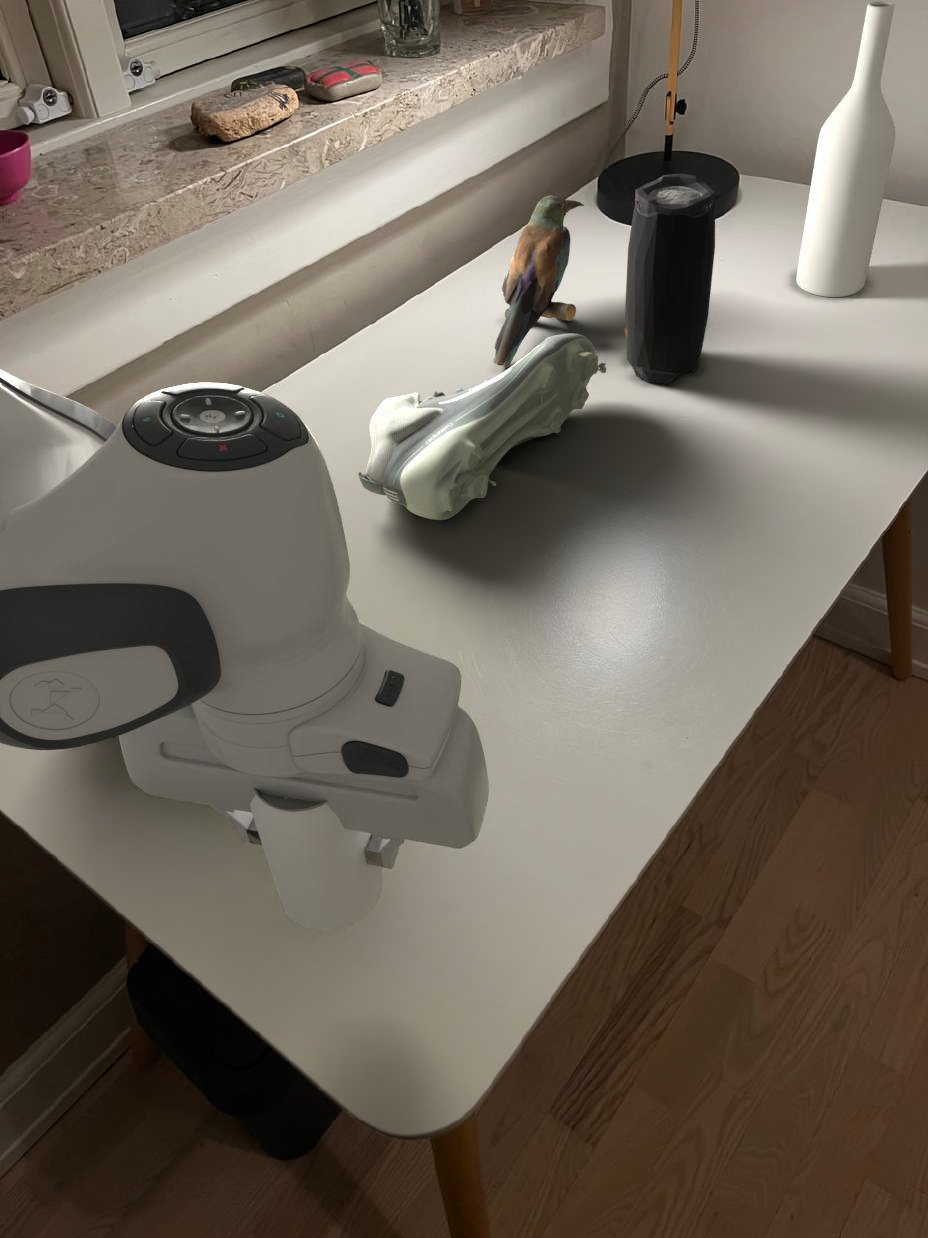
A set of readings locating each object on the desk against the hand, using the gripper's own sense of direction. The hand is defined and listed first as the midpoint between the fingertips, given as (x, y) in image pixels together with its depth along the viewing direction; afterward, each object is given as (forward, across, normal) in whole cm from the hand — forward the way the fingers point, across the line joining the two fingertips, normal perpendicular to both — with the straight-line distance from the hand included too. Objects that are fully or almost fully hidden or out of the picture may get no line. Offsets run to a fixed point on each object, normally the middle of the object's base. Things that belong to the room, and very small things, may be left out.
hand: (322, 846), depth 61 cm
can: (+5, 0, 0) cm, 5 cm away
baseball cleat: (+8, -3, +54) cm, 55 cm away
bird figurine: (+8, -1, +79) cm, 80 cm away
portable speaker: (+8, +14, +72) cm, 74 cm away
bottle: (+8, +32, +94) cm, 100 cm away
